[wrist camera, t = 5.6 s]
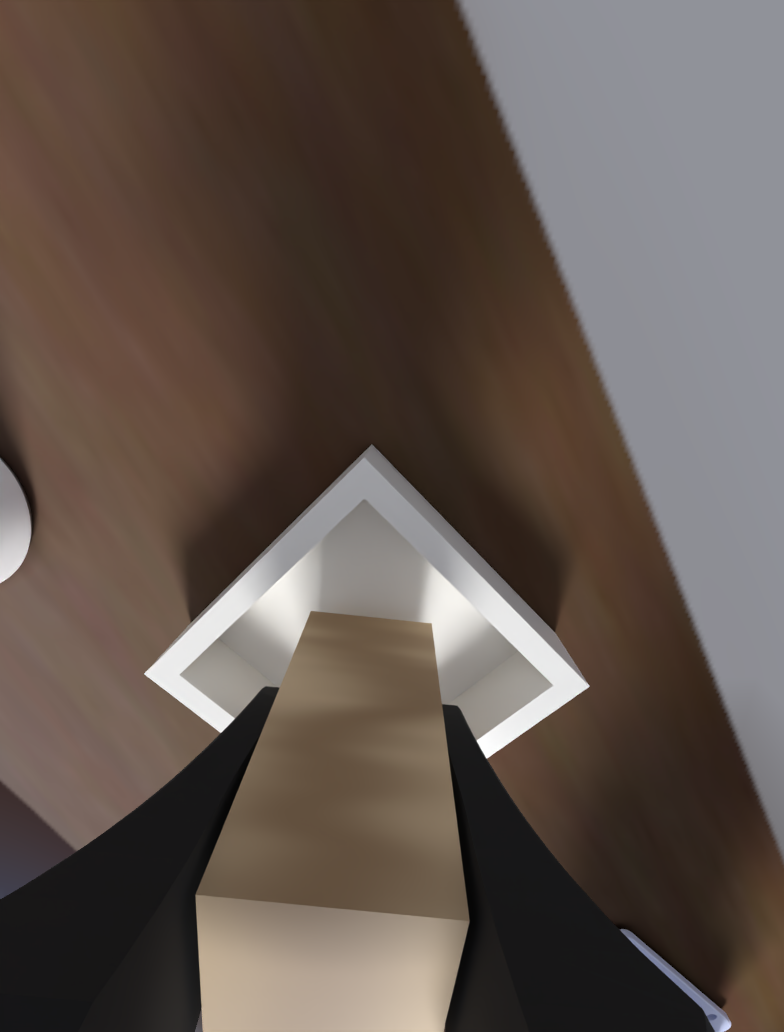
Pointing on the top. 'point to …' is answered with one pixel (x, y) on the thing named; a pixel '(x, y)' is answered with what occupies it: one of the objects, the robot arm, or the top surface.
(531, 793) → the top surface
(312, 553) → the bin tray
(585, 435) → the top surface
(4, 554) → the can
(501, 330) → the top surface
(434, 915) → the peg
